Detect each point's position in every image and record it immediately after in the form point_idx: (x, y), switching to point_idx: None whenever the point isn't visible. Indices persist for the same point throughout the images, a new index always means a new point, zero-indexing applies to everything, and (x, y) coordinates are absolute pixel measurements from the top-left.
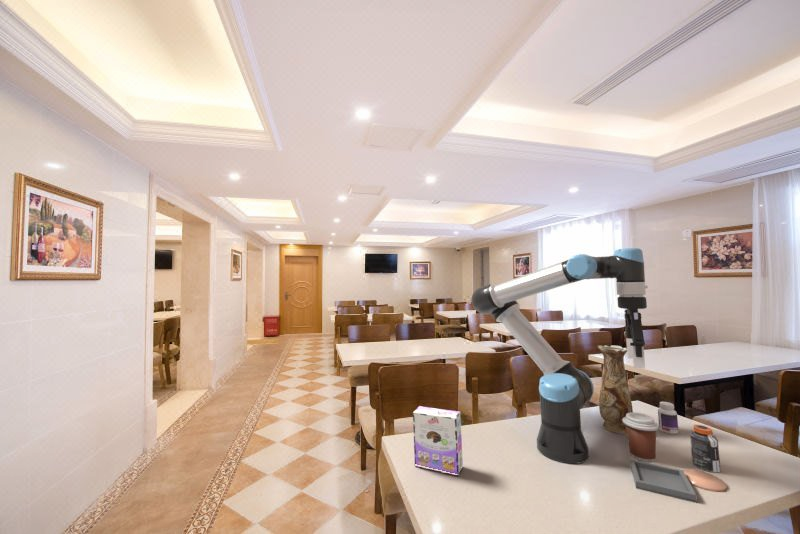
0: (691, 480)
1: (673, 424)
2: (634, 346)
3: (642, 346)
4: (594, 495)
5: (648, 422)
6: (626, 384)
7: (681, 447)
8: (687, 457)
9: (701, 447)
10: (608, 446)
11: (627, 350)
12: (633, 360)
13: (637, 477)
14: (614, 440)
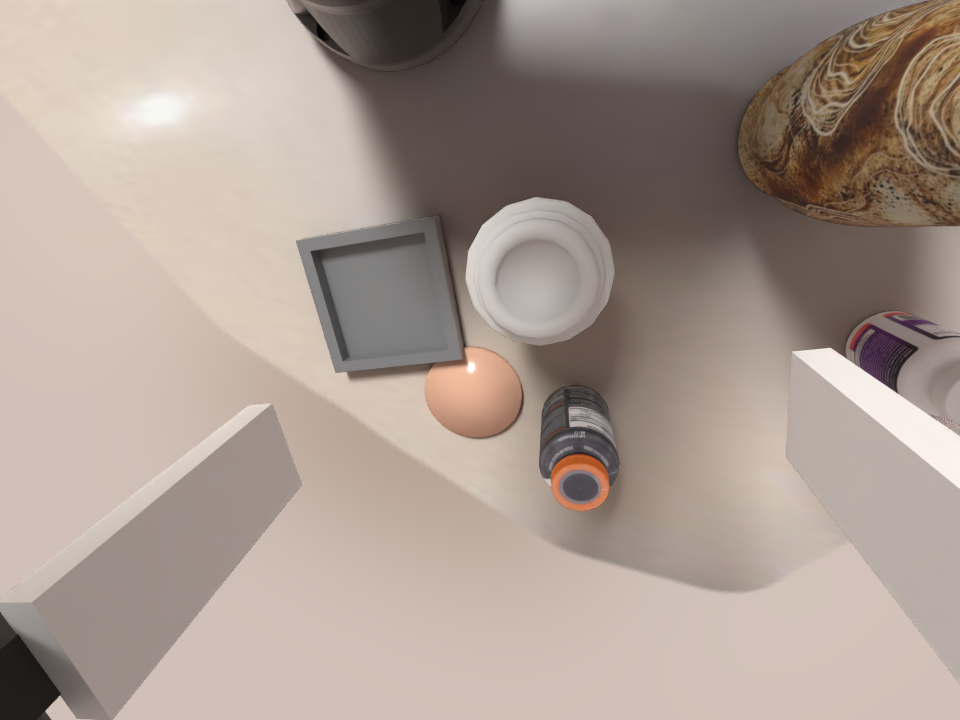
0: (440, 369)
1: (871, 375)
2: (21, 614)
3: (74, 704)
4: (183, 136)
5: (491, 316)
6: (954, 218)
7: (704, 368)
8: (620, 376)
9: (542, 439)
10: (558, 125)
11: (860, 407)
12: (196, 446)
13: (321, 244)
14: (640, 140)
